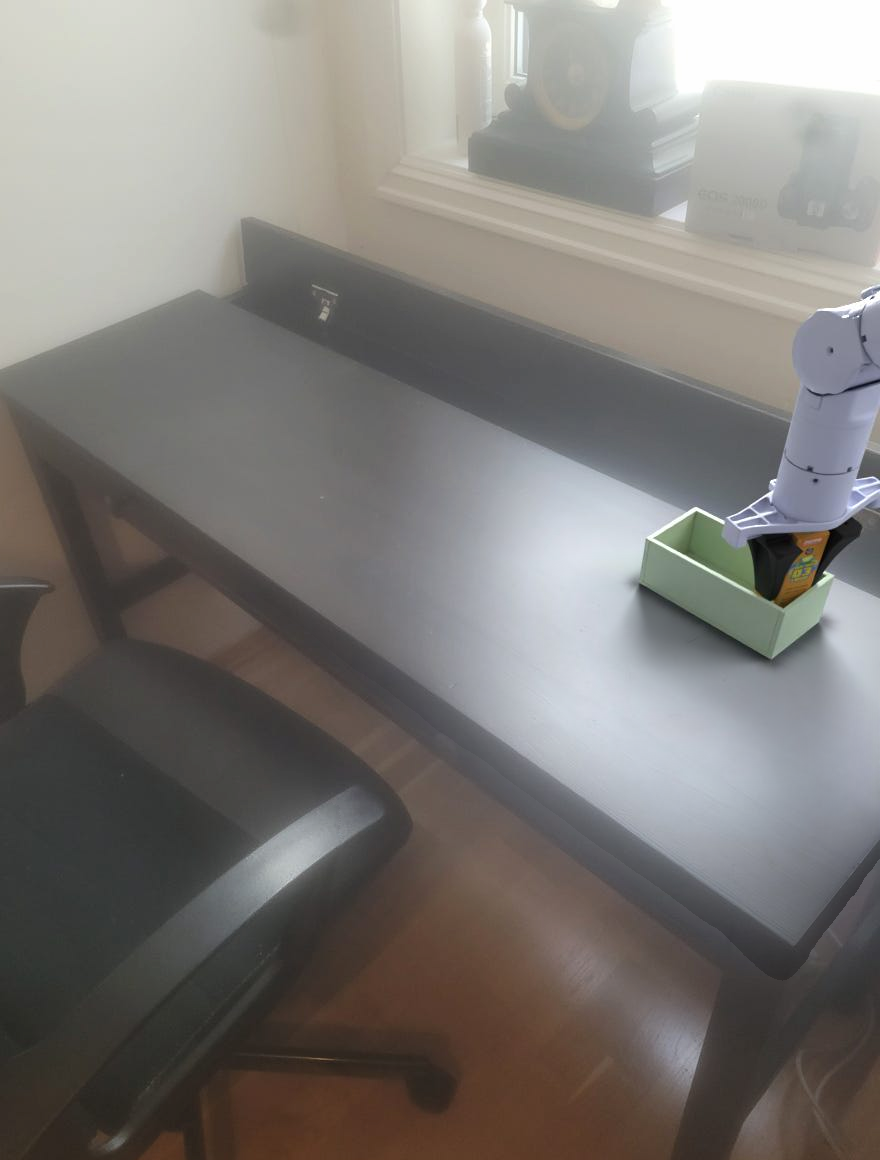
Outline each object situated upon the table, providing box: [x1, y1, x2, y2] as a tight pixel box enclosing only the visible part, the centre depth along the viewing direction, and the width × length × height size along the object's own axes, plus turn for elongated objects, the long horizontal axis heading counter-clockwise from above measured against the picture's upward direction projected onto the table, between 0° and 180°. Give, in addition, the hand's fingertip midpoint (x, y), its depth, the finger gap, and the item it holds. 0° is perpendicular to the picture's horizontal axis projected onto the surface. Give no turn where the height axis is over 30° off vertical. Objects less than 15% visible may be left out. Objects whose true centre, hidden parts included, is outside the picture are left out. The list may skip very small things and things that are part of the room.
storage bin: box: [638, 506, 835, 660], centre depth 84 cm, size 15×8×6 cm, turn 39°
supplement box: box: [754, 530, 830, 609], centre depth 78 cm, size 3×3×10 cm
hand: (783, 588), depth 80 cm, fingers closed on supplement box, 3 cm apart
